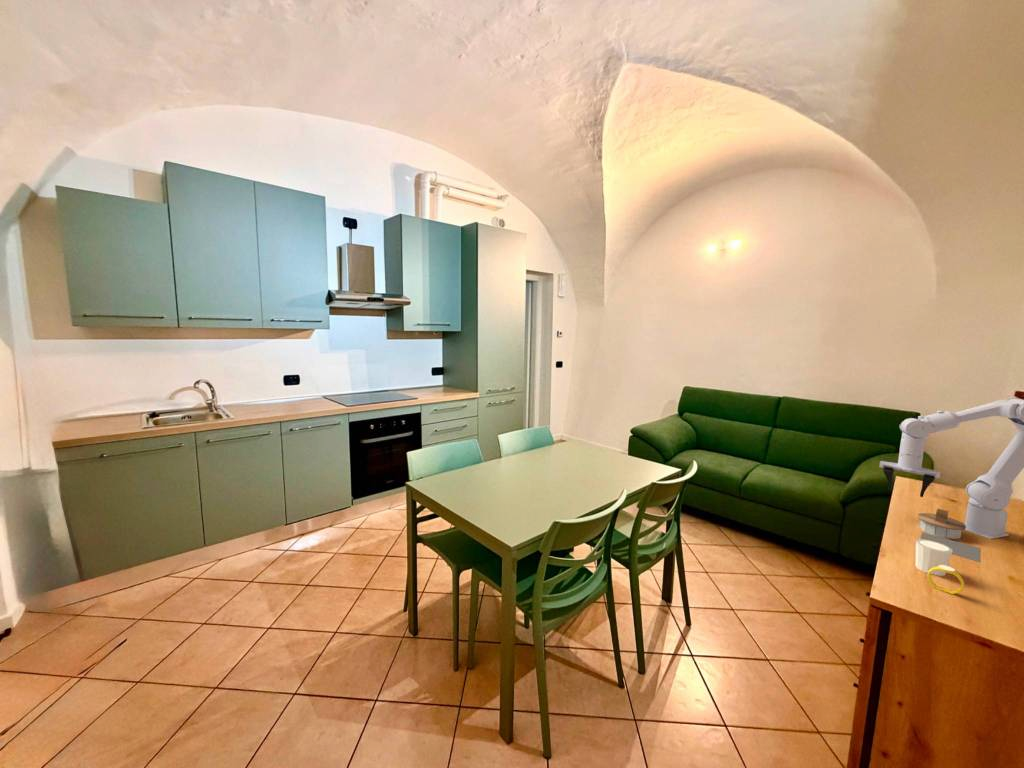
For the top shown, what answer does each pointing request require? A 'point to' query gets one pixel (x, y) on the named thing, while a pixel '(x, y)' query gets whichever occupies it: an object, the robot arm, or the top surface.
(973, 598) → the top surface
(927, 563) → the white cylinder
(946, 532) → the grey curved piece
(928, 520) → the walnut lid
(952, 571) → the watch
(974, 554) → the rubber mat
